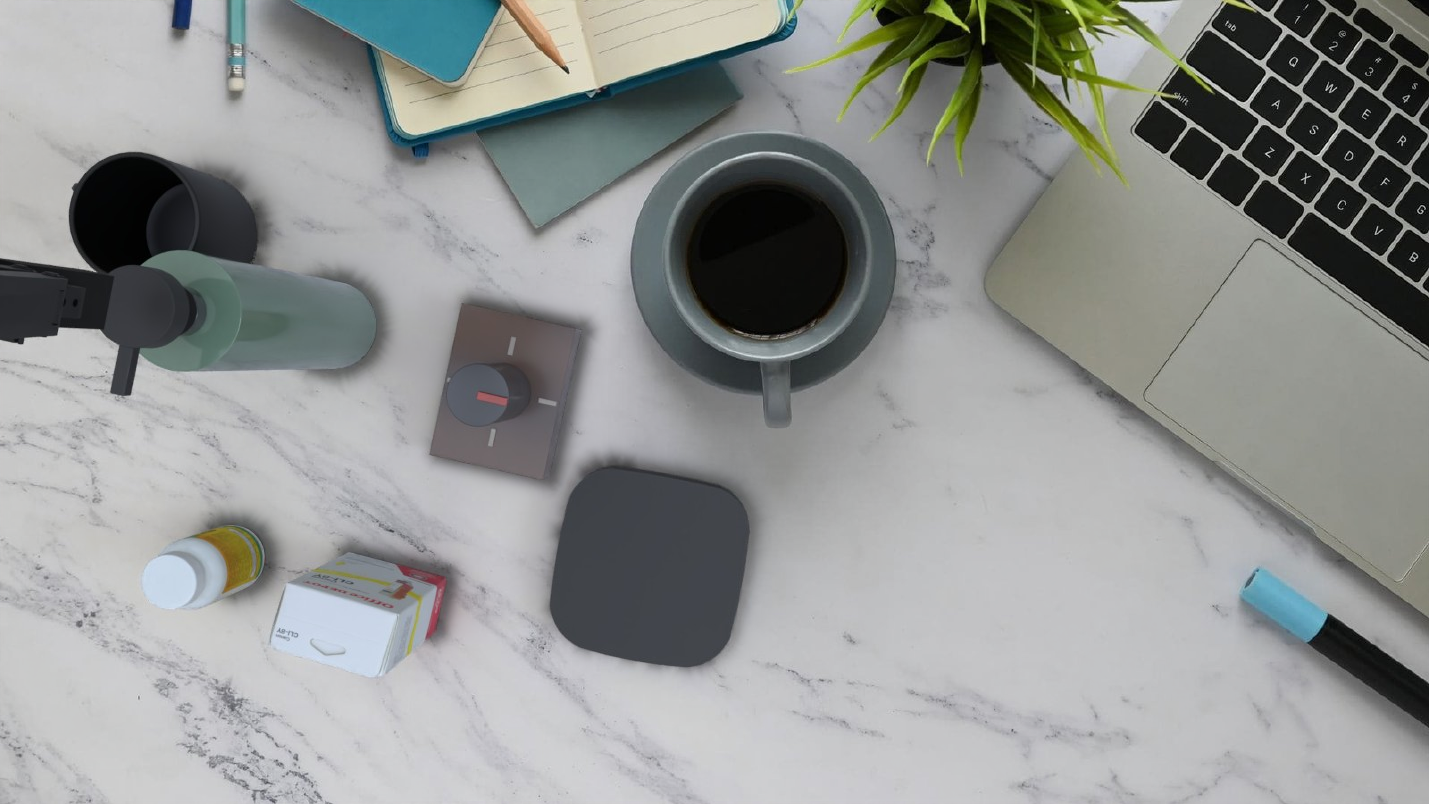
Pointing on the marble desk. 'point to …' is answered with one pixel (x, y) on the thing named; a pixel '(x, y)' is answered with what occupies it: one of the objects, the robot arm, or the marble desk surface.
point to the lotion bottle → (261, 318)
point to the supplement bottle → (203, 568)
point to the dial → (487, 393)
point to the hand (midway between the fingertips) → (94, 299)
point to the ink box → (357, 614)
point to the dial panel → (548, 370)
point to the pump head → (142, 317)
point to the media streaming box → (649, 566)
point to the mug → (156, 213)
